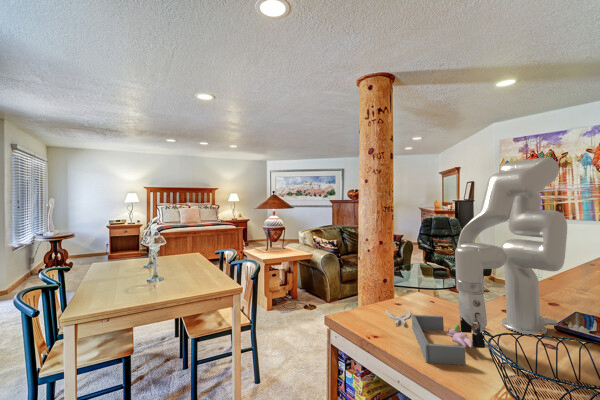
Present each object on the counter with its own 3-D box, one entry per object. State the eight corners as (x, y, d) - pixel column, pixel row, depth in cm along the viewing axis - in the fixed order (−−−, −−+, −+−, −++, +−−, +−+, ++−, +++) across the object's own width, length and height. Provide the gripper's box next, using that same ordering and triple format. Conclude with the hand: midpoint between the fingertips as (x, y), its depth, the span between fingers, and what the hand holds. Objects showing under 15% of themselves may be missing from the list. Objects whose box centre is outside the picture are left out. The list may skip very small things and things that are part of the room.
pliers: (409, 308, 119) (414, 324, 104) (409, 312, 119) (414, 328, 104) (385, 307, 121) (386, 322, 107) (385, 311, 121) (387, 326, 107)
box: (443, 329, 101) (442, 316, 101) (465, 365, 80) (465, 347, 80) (412, 328, 103) (411, 314, 103) (426, 362, 82) (425, 345, 82)
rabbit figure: (443, 336, 99) (457, 352, 84) (442, 319, 100) (455, 331, 85) (463, 338, 97) (480, 353, 83) (461, 319, 98) (478, 332, 84)
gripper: (496, 295, 80) (498, 355, 80) (471, 278, 97) (474, 327, 97) (467, 294, 82) (470, 353, 81) (448, 278, 98) (450, 326, 98)
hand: (472, 339), depth 89 cm, fingers open, 9 cm apart
